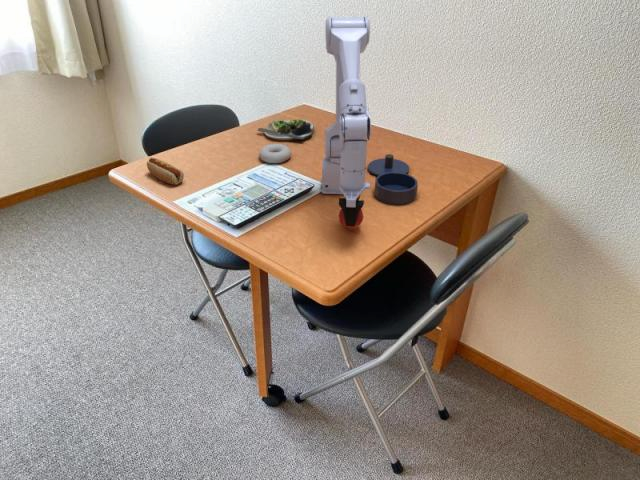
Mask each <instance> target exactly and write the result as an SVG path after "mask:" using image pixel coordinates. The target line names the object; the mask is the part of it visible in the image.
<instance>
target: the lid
mask: <svg viewBox="0 0 640 480" xmlns="http://www.w3.org/2000/svg"><path fill="white" fill-rule="evenodd" d="M367 169H368V171H369V172H370V173H371V174H373V175H375V176H377V177H378V176H379V175H381V174H384V173H389V172H399V173H405V174H408V173H409V172H410V166H409V164H408V163H407V162H405V161H403V160H400V159H397V158H395V157H394V155H393V154H391V153H390V154H388V153H387V154H386V155H385V156H384V157H383V158H377V159H374V160H372V161H370V162H369V163H368V164H367Z"/></svg>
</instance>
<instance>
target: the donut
mask: <svg viewBox="0 0 640 480" xmlns="http://www.w3.org/2000/svg"><path fill="white" fill-rule="evenodd" d="M291 155H292V151H291V148H290V147H289V146H287V145H285V144H281V143H270V144H266V145H264V146H262V147H261V148H260V150H259V152H258V156H259V159H260V160H261V161H263V162H265V163H267V164H281V163H285V162H286V161H287V160H289V159H290V158H291Z"/></svg>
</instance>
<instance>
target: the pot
mask: <svg viewBox="0 0 640 480" xmlns="http://www.w3.org/2000/svg"><path fill="white" fill-rule="evenodd" d="M418 185H419V183H418V179H416V178H415V176H412V175H410V174H408V173H407V174H405V173H399V172H389V173H384V174H381V175H379V176H377V177H375V180H374V196H375V198H376V199H377V200H378V201H380V202H382V203H384V204H388V205H393V206H394V205H395V206H401V205H407V204H410V203H412V202H413V201H415V200H416V198H417V195H418V194H417V193H418Z"/></svg>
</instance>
